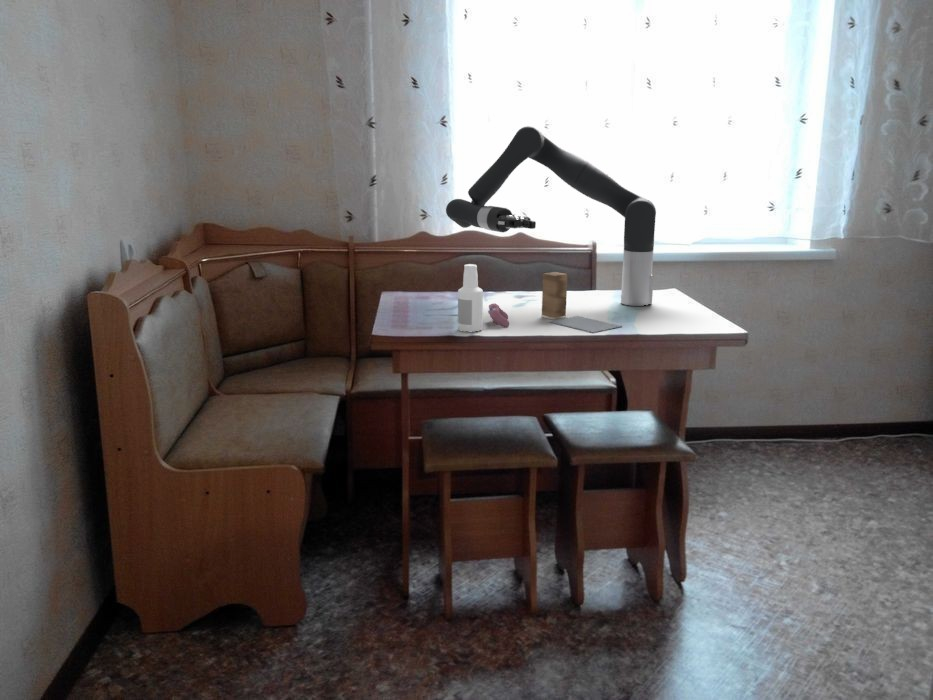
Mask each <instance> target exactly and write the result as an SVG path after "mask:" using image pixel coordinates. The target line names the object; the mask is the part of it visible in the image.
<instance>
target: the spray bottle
mask: <svg viewBox="0 0 933 700" xmlns="http://www.w3.org/2000/svg"><path fill="white" fill-rule="evenodd" d="M463 266H464V270H463V279H462V287H461V288H459V289H458V290H457V330H458V329H459V330H462V331H478V332H480V331H479V330H481V331H482V330H483V325H484V324H483V318H484V317H483V314H484V313H483V311H484V310H483V309H484V304H483V303H484V302H483V301H484V300H483V299H484V291H483V289H482V288H481V287H479V280H478V279H479V278H478V276H479V275H478V274H479V273H478V266H477V264H475V263H468V264H464V265H463ZM459 330H458V331H459ZM462 331H461V332H462Z"/></svg>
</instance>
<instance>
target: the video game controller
mask: <svg viewBox="0 0 933 700" xmlns="http://www.w3.org/2000/svg"><path fill="white" fill-rule="evenodd" d="M487 313H488V314H489V316H490V319H491V320H492V323H493V324H495V326H497V325H498V326H500V327H502V328H508V327H509V326H510V322H509V315H508V313H507V312H505V311H504V310H503V309H501V308H500V306H499V305H498V304H497V303H491V304H489V305H488V311H487Z"/></svg>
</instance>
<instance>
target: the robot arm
mask: <svg viewBox="0 0 933 700" xmlns="http://www.w3.org/2000/svg"><path fill="white" fill-rule="evenodd" d="M527 159H531V160H533V161H536V163H539V164H541V165H543V166H544V167H546V168H548V169H549V170H550V171H552V173H554V174H555V175H556V176H557V177H558V178H560V179H561V181H563V182H564V183H565V184H567V185H568V186H570V187H571V188H572V189H574V190H575V191H577V192H578V193H581V194H582V195H584V196H585V197H587V198H590V199H592V200H594V201H596V202H599V203H601V204H603V205H604V206H607V207H610V208H612V210H614V211H615V212H617V213H618V214H620V215H621V216H622V217H623V218H624V227H623V228H624V229H623V230H624V232H623V253H622V254H623V256H622V258H623V259H622V274H621V275H622V277H621V294H620V303H621V304H622V305H626V306H631V307H632V306H634V307H643V306H644V305H646V306H649V305H648V304H652V305H653V296H654V295H653V293H654V292H653V291H654V274H653V261H654V246H655V231H656V230H655V228H656V217H657V216H656V215H657V214H656V213H657V209H656V206H655V205H654V204H653V202H652V201H650V200H649V199H647V198H645V197H642V196H640V195H638V194H636V193H634V192H633V191H631V190H629V189H627V188H625V187H624V186H622V185H621V184H619V183H618V182H617V181H616V180H614V178H612V177H611V176H609V175H608V174H606V172H604V171H602V170H601V169H600V168H598V167H597V166H595V165H593V164H592V163H590V162H589V161H588V160H585V159H584V158H582V157H581V156H578V155H576V154H574V153H572V152H569V151H567V150H565V149H563V148H561V147H559V146H558V145H557V144H556V143H554V142H553V141H552V140H550V139H549V138H548V137H546V136H545V135H544V134H543V133H542V131H540V130H539V129H538V128H536V127H534V126H528V125H527V126H523V127H521V128H520V129H518V130H517V132H516V133H515V134H514V136H513V138H512V139H511V141H510V143H508V145H507V146H506V148H505V149H504V150H503V152H502V153H501V155H500V156H499V157H498V158H497V160H495V162H493V164H492V165H490V166H489V168H488V169H487V170H486V171H485V172H484V173H482V175H481V176H480V177H479V178H478V179H477V181H475V182H474V183H473V185H472V186H471V187H470V188H469V189H468V191H467V194H468V196H469V197H470V199H471V200H470V201H468V200H465V199H462V198H455V199H453V200H451V201H449V202H448V203H447V205H446V208H445V212H446V213H445V214H446V216H447V217H448V218H449V219H450V220H452V221H453V222H454V223H455V224H457V225H458V226H459V227H461V228H470V227H471V226H473V227H474V228H479V229H480V228H481V229H485V230H488V231H492V232H499V233H507V232H508V231H509V230H511V229H523V228H524V229H532V230H533V229H536V224H537V223H536V220H531V218H530V217H529V216H521V215H518V214H513V213H512V211H511V210H510V209H509V208H508V207H501V206H493V205H486V204H487V202H488V201H489V200H491V199H492V197H493V196H494V195H495V194H496V193H498V191H499V190H500V189H501V188H502V187H503V185H504V183H505V182H506V180H508V179H509V176H510V175H511V174H512V173H513V172H514V171H515V170H516V168H518V166H520V165H521V163H523V162H524V161H525V160H527Z"/></svg>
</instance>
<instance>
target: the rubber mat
mask: <svg viewBox="0 0 933 700" xmlns="http://www.w3.org/2000/svg"><path fill="white" fill-rule="evenodd" d="M548 323H550V324H554V325H558V324H559V326H562V325H563V326H562V327H566V326H567V328H570V327H572V329H574V328H577V329H576V330H578V329H581V330H580V331H582V330H585V331H584V332H586V331H589V332H588V333H591V332H596V333H600V332H599V331H601V332H604V330H605V331H609V330H608V329H610V330H614V329H613V328H615V329H619V328H618V327H620V328H622V327H623V326H622V325H619V324H616V323H615V324H614V323H611V322H605V321H602V320H597V319H592V318H588V317H585V316H580V315H575V316H569V317H566V318H560V319H555V320H553V319H552V320H549V321H548Z"/></svg>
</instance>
